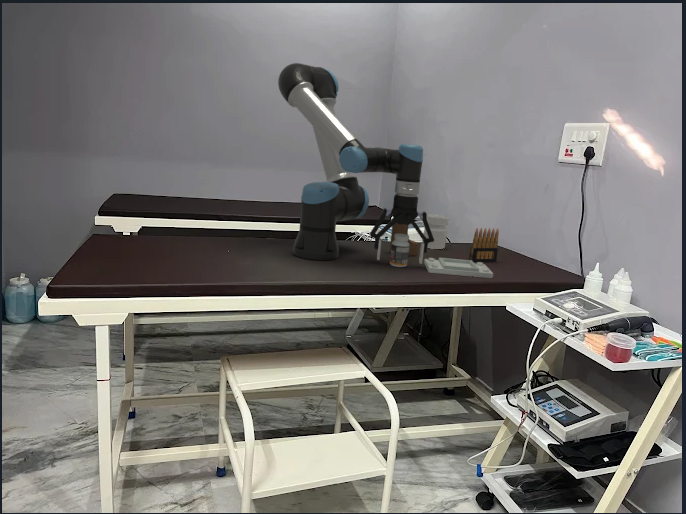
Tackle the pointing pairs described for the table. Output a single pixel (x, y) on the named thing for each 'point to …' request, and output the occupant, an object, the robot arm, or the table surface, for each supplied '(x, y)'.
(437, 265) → the base plate
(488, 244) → the ammunition clip
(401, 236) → the pill bottle
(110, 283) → the table surface
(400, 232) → the wooden block
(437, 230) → the white lidded jar
